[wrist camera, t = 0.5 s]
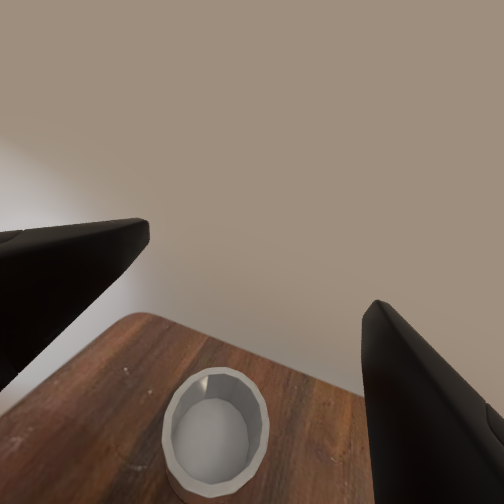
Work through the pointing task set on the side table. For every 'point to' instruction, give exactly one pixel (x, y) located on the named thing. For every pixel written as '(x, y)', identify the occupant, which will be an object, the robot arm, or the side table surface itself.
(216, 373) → the white cylindrical cup
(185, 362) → the side table surface
